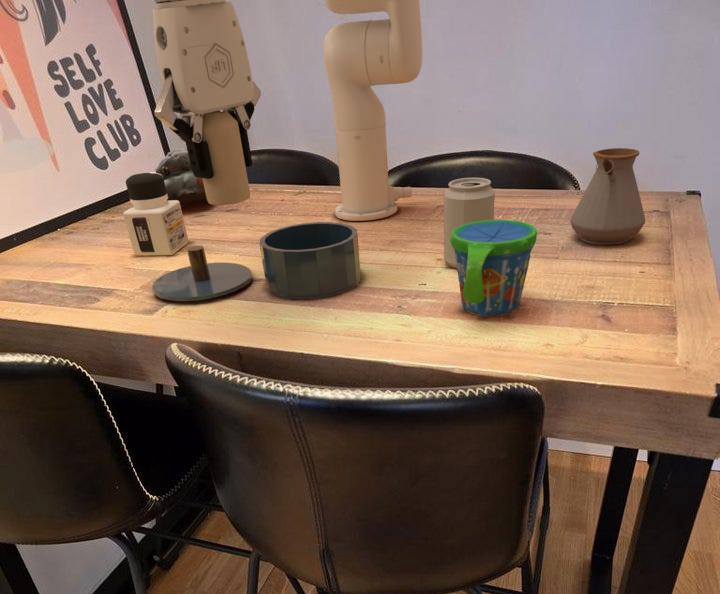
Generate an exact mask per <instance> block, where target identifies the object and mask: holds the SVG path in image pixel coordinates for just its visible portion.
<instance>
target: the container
mask: <svg viewBox="0 0 720 594" xmlns="http://www.w3.org/2000/svg"><path fill="white" fill-rule="evenodd" d="M125 185H126V190H127V192H128V196H129V200H130V203H131V205H133V206H132V207H129V208H128V209H126V210H125V211H123V213H122V216H123V219H124V223H125V226H126V230H127V234H128V237H129V241H130V245H131V248H132V251H133V255H134V256H136V257H138V256H141V257H142V256H143V257H145V256H172V255H174V254H175V253H177V252H178V251H179V250H181V249H182V248H183V247H185V246H186V245H187V244H188V243H189V237H188V232H187V229H186V224H185V219H184V216H183V211H182V206H180V202H179V201H178V200H171V201H167V199H168V195H167V191H166V187H165V182H164V178H163V176H162V175H161V174H158V173H156V171H147V172H140V173H135V174H132V175H130V176H129V177H127V178H126V180H125Z"/></svg>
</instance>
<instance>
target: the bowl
mask: <svg viewBox="0 0 720 594" xmlns="http://www.w3.org/2000/svg"><path fill="white" fill-rule="evenodd" d="M358 235H359V234H358V229H357V228H356V227H354V226H352V225H350V224H347V223H342V222H336V221H335V222H333V221H312V222H303V223H297V224H292V225H287V226H283V227H280V228H276V229H273V230H271V231H269V232H266V233H265V234H264V235H263V236H262V237H260V239H259V243H258V244H259V250H260V257H261V262H262V268H263V274H264V280H265V286H266V289H267V291H268V292H269V293H270V294H271V295H273V296H275V297H278V298H281V299H287V300H295V301H297V300H299V301H300V300H301V301H303V300H304V301H305V300H317V299H324V298H330V297H335V296H337V295H341V294H343V293H346V292H348V291H351V290H352V289H354V288H355V287H357V286H358V285H359V284H360V282H361V279H362V275H361V274H362V272H361V262H360V248H359V237H358Z"/></svg>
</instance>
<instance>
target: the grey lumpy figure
mask: <svg viewBox="0 0 720 594" xmlns="http://www.w3.org/2000/svg"><path fill="white" fill-rule="evenodd" d="M155 173H158V174H161V175H162V176H163V178H164V182H165V187H166V191H167V195H168V199H167V201H171V200H178V201H179V202H180V206H181V207H186V206H192V205H210V204H209V203H208V200H207V197H206V192H205V188H204V183H203V179H202V178H198V177H195V176H194V174H193V170H192V168H191V165H190V160H189V156H188V151H187V148H178V149H173V150H171V151H168V152H167V153H166V155H165V157H164V158H162V159H161V160H160V162H159V163H158V166H157V167H156V168H155Z"/></svg>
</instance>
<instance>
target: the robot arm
mask: <svg viewBox="0 0 720 594" xmlns="http://www.w3.org/2000/svg"><path fill="white" fill-rule="evenodd" d="M153 1H154V3H155V9H152V27H153V38H154V47H155V54H156V60H157V66H158V67H157V68H158V73H159V78H160V81H161V82H160V83H161V86H162V87H161V88H162V89H161V90H160V91H161V92H160V94H159V97H158V100H157V103H156V105H155V108H154V116H155V117H156V119H158V120H159V121H160V122H162V123H163V124H164V125H165V126H167V127H168V128H169V129H170V130H171V132H173V133H174V134H175V135H176V136H178V138H179V139H180V141H181V142H183V143H185V146H186V149H187V151H188V156H189V160H190V165H191V168H192V170H193V174H194V176H195V177H198V178H205V179H210V178H213V176H214V173H213V168H212V163H211V158H210V153H209V148H208V144H207V142H206V141H202V126H203V114H204V113H209V112H214V111H218V110H220V111H221V112H223V111H224V110H226V111H227V112H228V113H229V114H230V115H231V116H232V117H233V118H234V119H235V120H236V121H237V122H238V127H239V132H240V138H241V144H242V149H243V155H244V161H245V166H246V168H249V167H252V166H253V158H252V154H251V153H252V151H251V147H250V140H249V134H248V130H250V129H251V126H252V125H251V120H252V118H253V114H254V112H255V107H256V106H257V104H258V102H259V99H260V97H261V94H262V93H261V89H260V88H259V87H258V85H257V84H256V83H255V82H254V80H253V76H252V71H251V66H250V61H249V57H248V51H247V47H246V42H245V39H244V35H243V31H242V27H241V24H240V21H239V18H238V15H237V12H236V10H235V7H234V4H233V2H232V0H231V1H227V0H153ZM324 3H325V5H326V7H327V9H328V10H329V11H330V12H332V13H334V14H338V15H357V14H369V13H381V12H385V13H386V14H387V16H388V19H387V18H385V19H375V20H373V19H370V20H358V21H349V22H348V21H347V22H344V23H340V24H337V25H335V26H334V27H332V28H331V29H330V30H329V31H328V32H327V33H326V34H325V37H324V40H323V45H322V57H323V62H324V63H323V64H324V68H325V71H326V75H327V79H328V83H329V89H330V94H331V101H332V109H333V117H334V127H335V128H334V130H335V139H336V150H337V151H336V152H337V163H338V173H339V185H340V197H341V204H340V205H338V206H336V207H335V209H334V214H335V217H336V218H338V219H340V220H343V221H351V222H363V221H365V222H366V221H374V220H375V221H376V220H379V219H384V218H388V217H390V216H392V215H394V214H396V212H398V204H397V203H396V202H398V200H399V199H407V198H412V196H413V189H412V187H411V186H405V187H401V186H397V187H394V186H391V185H389V167H388V146H387V143H388V141H387V126H386V125H387V122H386V121H387V120H386V112H385V107H384V106H383V103H382V102H381V100H380V99H379V97H378V96H377V94H376V93H375V91H374V90H373V88H372V87H373V86H384V85H385V86H386V85H399V84H400V85H401V84H407V83H411V82H413V81H415V80H416V79H417V78H418V77H419V75H420V73H421V69H422V67H423V66H422V65H423V37H422V19H421V6H420V0H324ZM176 113H177V114H179V116H178V115H177V114H176Z"/></svg>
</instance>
